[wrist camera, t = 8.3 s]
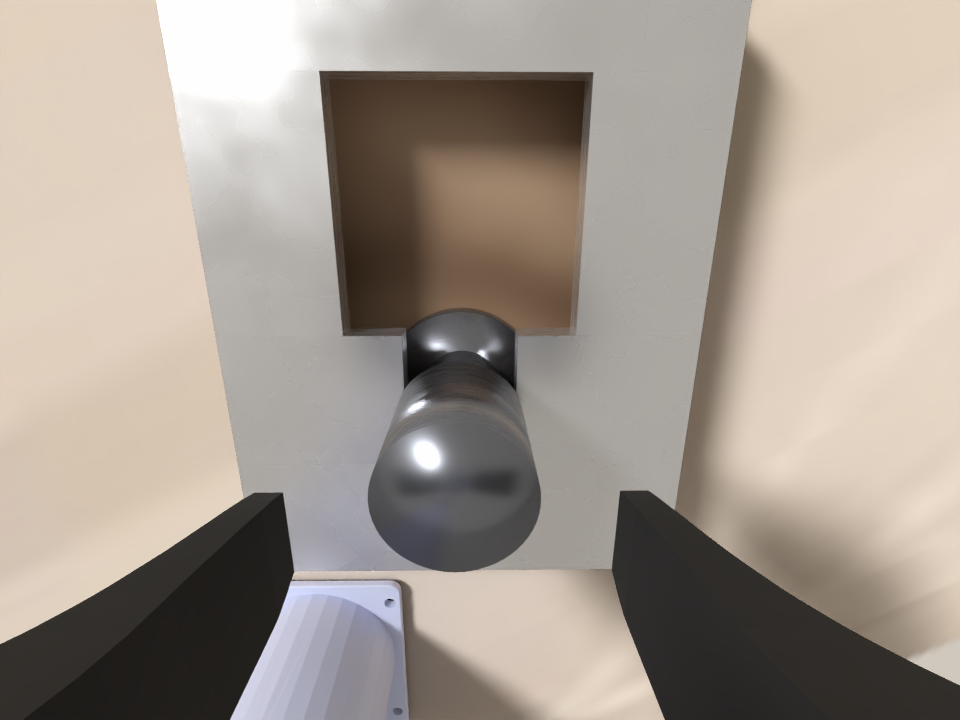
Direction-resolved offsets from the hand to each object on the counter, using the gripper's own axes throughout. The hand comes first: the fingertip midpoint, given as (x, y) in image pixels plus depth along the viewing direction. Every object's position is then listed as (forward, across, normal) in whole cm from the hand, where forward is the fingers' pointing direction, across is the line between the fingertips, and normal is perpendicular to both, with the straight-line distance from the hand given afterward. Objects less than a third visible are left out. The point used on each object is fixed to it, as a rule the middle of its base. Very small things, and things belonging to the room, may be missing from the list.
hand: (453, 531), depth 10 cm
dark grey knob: (+9, 0, 0) cm, 9 cm away
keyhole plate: (+9, 0, -4) cm, 10 cm away
